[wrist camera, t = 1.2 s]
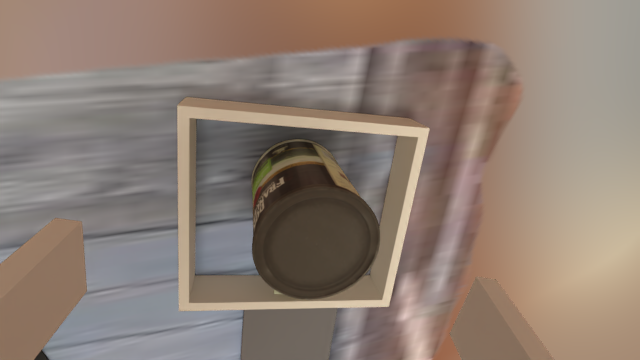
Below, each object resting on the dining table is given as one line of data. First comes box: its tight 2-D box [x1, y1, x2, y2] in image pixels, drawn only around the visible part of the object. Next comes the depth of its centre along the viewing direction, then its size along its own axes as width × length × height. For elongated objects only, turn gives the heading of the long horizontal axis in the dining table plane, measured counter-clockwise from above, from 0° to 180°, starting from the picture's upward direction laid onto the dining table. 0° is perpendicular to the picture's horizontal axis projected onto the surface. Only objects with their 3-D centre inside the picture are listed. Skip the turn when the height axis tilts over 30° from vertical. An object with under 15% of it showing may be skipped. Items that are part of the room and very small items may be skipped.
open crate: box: [177, 97, 430, 311], centre depth 40 cm, size 22×24×5 cm
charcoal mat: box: [241, 308, 337, 360], centre depth 49 cm, size 12×12×1 cm
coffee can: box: [251, 139, 380, 300], centre depth 35 cm, size 10×10×14 cm
